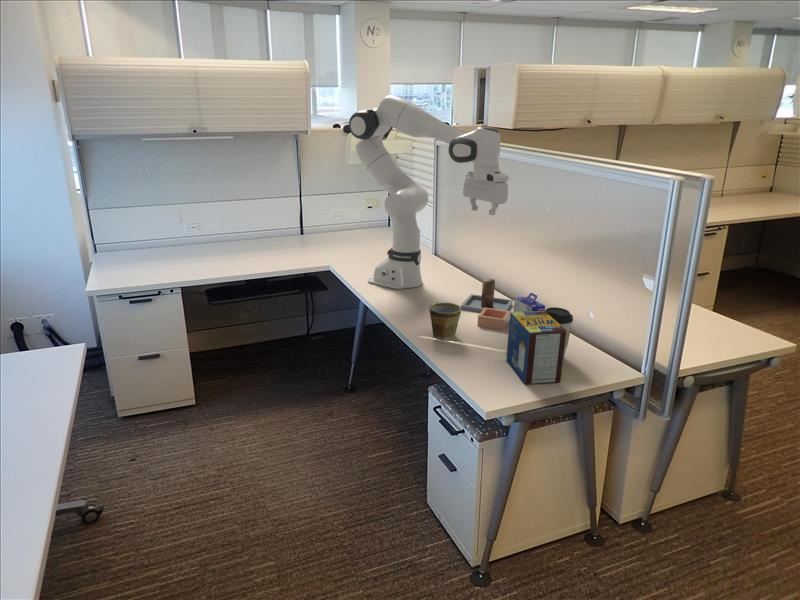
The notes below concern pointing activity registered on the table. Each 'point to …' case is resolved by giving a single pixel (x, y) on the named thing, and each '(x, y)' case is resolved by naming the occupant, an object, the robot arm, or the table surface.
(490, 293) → the canister
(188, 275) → the table surface
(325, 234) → the table surface
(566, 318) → the coffee cup
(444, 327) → the ceramic cup
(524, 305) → the ink cartridge box
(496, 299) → the tray
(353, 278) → the table surface
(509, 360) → the protein box
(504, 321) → the holder cup
